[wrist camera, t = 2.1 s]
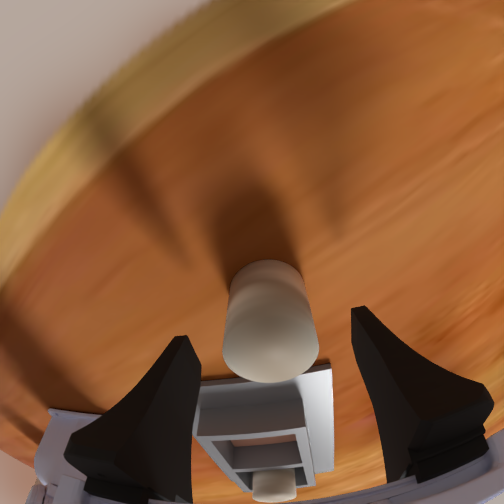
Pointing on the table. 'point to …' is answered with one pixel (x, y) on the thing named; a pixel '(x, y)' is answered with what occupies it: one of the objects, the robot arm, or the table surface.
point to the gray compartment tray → (268, 426)
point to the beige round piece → (274, 485)
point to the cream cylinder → (269, 323)
